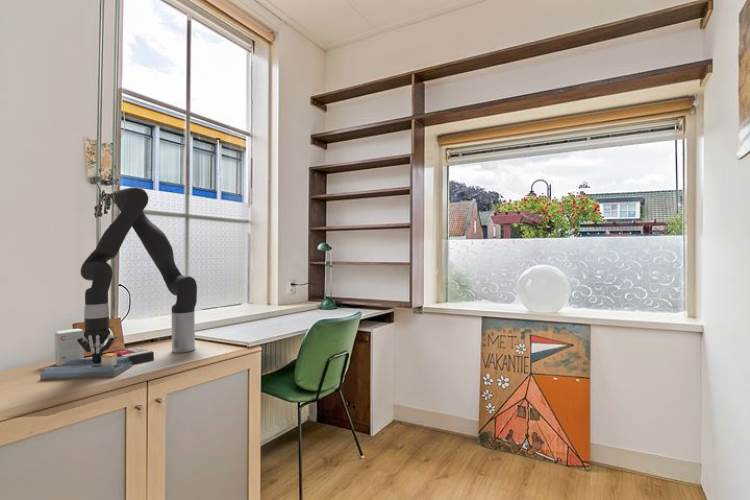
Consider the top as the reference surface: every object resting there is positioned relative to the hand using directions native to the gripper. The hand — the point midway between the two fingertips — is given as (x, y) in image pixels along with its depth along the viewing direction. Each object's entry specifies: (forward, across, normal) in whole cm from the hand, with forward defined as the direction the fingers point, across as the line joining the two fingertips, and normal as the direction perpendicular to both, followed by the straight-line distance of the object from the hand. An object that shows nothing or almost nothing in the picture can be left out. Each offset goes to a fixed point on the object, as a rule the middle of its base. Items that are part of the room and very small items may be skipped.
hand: (97, 362), depth 146 cm
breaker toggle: (+1, -4, 0) cm, 4 cm away
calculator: (+4, -4, -16) cm, 17 cm away
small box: (+4, +18, -14) cm, 23 cm away
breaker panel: (+4, +3, 0) cm, 5 cm away
